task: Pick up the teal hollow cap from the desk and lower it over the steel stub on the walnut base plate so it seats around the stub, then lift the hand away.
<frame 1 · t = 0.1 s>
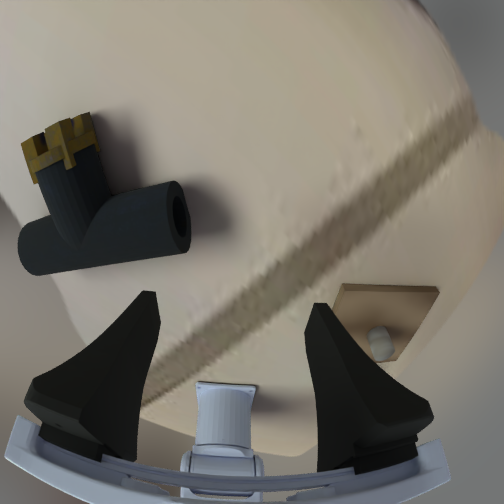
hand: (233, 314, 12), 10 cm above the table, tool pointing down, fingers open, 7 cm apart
base plate: (373, 326, 28), on the table
pipe connector: (94, 184, 19), on the table
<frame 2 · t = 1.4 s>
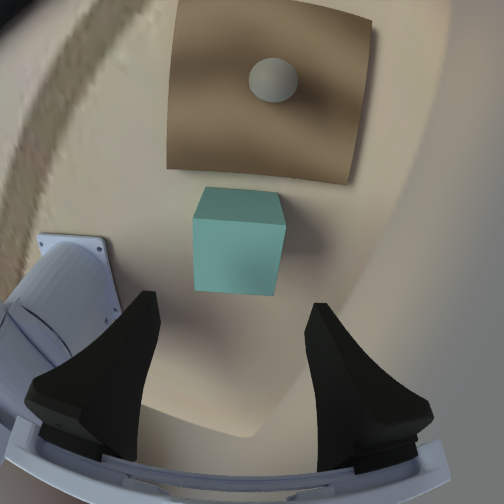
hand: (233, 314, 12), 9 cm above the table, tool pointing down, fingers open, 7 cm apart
housing cap: (238, 221, 20), on the table
base plate: (268, 83, 15), on the table
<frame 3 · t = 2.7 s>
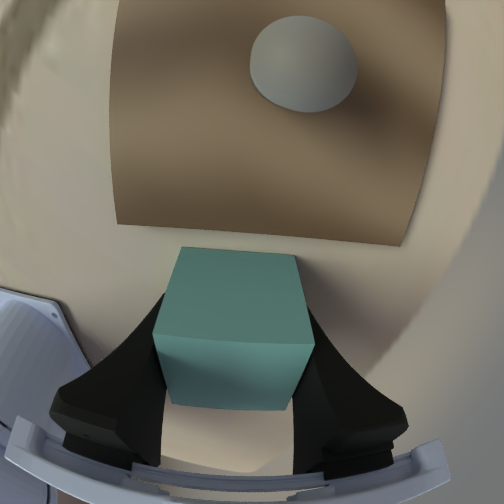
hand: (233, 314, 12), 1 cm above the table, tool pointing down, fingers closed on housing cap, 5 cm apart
housing cap: (234, 294, 13), on the table, touching gripper
base plate: (283, 74, 8), on the table
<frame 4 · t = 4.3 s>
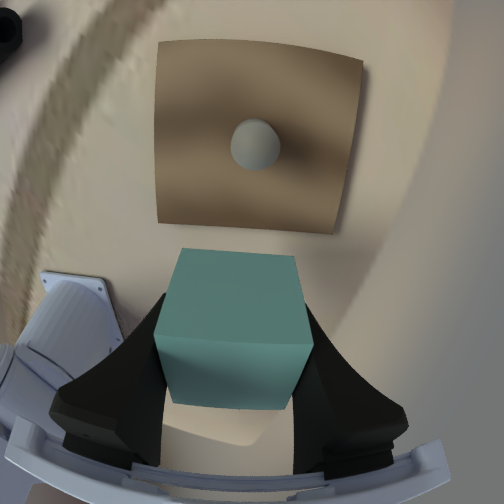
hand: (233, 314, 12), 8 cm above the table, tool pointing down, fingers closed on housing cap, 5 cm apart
housing cap: (234, 294, 14), point 7 cm above the table, touching gripper
base plate: (253, 135, 16), on the table
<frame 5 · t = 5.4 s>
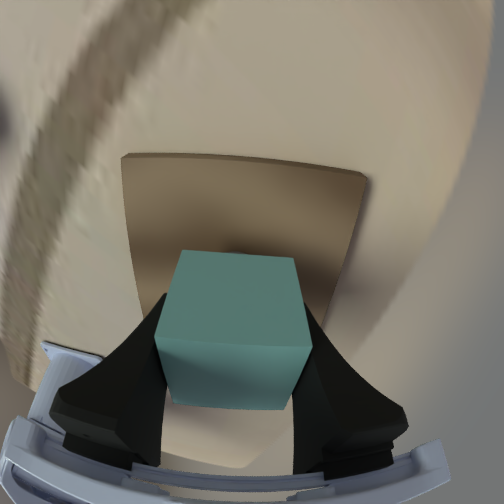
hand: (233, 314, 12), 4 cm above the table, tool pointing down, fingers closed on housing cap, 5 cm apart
housing cap: (234, 295, 14), point 3 cm above the table, touching gripper
base plate: (236, 259, 16), on the table
when the fingers open (3 cm above the table, at t = 6.1 s): housing cap stays where it is, resting on base plate.
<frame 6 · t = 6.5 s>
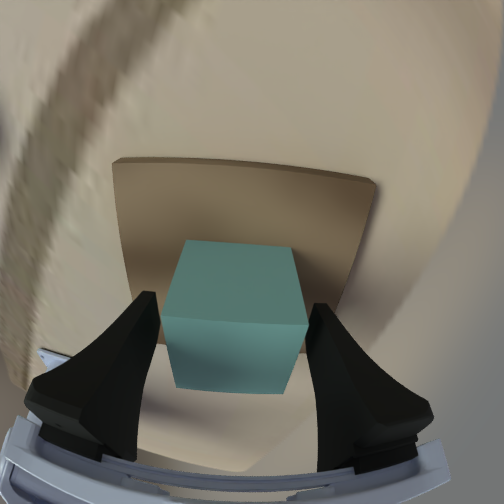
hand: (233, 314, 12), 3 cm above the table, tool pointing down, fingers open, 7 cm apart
housing cap: (235, 284, 14), point 1 cm above the table, touching base plate
base plate: (236, 270, 15), on the table
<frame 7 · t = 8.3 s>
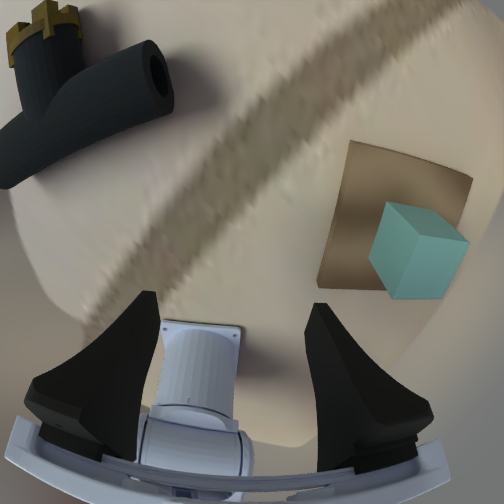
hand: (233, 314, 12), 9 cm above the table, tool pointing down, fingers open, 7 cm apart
housing cap: (402, 234, 20), point 1 cm above the table, touching base plate
base plate: (398, 226, 20), on the table
pipe connector: (72, 78, 14), on the table
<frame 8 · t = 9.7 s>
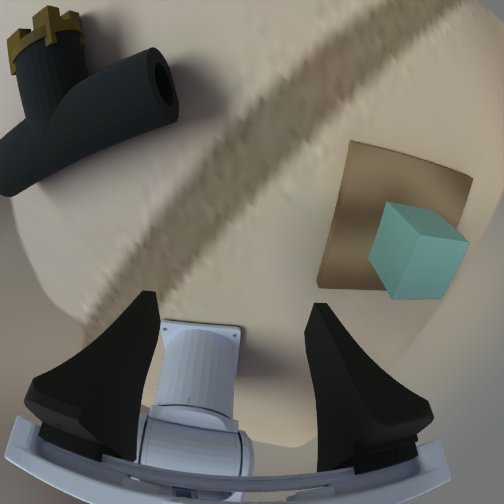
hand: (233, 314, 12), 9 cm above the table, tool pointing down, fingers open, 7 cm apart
housing cap: (402, 234, 20), point 1 cm above the table, touching base plate
base plate: (398, 226, 20), on the table
pipe connector: (75, 85, 14), on the table
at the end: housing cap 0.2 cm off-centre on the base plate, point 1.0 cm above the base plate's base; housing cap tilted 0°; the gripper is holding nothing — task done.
